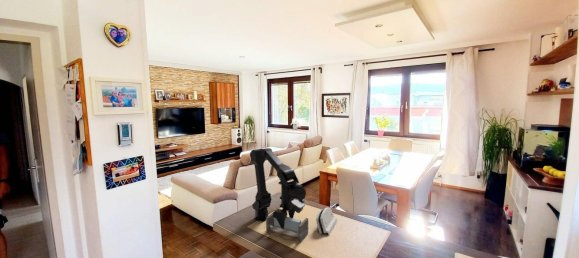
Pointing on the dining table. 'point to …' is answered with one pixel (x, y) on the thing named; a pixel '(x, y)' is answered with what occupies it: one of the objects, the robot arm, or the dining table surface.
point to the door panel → (289, 224)
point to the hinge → (326, 221)
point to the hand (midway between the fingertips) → (287, 224)
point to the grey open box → (286, 233)
